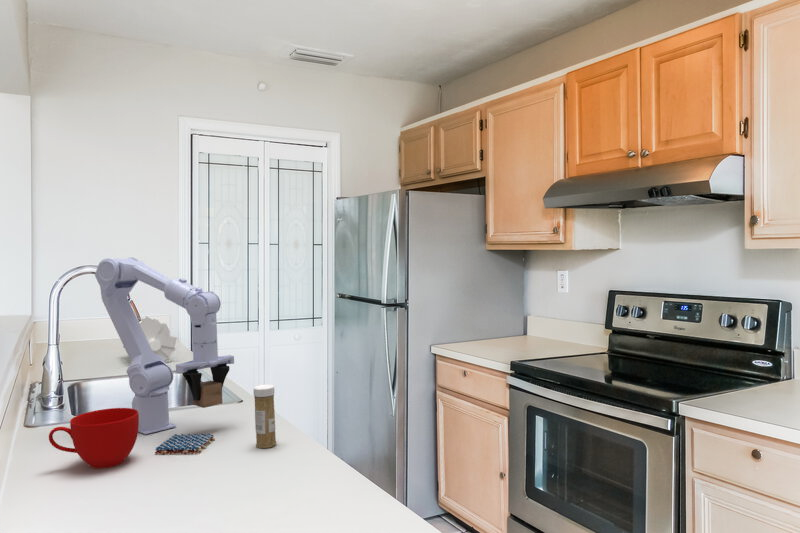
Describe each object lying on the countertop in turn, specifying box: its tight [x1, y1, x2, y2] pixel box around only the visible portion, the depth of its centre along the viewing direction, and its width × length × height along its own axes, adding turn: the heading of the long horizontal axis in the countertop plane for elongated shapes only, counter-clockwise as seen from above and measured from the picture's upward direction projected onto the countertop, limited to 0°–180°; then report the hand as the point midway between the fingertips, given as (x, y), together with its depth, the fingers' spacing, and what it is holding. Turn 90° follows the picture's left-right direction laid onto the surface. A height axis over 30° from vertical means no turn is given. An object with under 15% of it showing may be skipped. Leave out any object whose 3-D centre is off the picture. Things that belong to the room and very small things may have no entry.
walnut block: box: [192, 380, 223, 409], centre depth 146 cm, size 5×5×5 cm
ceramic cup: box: [48, 407, 139, 469], centre depth 126 cm, size 13×17×10 cm
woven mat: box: [154, 433, 216, 456], centre depth 135 cm, size 10×11×2 cm
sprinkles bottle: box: [253, 384, 277, 449], centre depth 134 cm, size 5×5×14 cm
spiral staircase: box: [122, 316, 178, 361], centre depth 245 cm, size 18×18×25 cm
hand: (207, 397), depth 146 cm, fingers closed on walnut block, 5 cm apart
